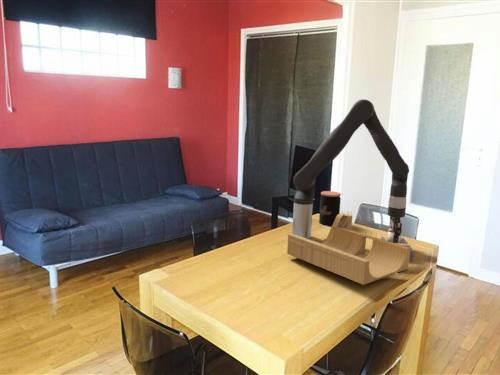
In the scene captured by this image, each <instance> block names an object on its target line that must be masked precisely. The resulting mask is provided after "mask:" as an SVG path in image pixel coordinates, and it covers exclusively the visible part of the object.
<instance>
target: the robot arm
mask: <svg viewBox="0 0 500 375" xmlns="http://www.w3.org/2000/svg"><path fill="white" fill-rule="evenodd" d="M362 125H364V127H365V128H366V129H367V130H368V132H369V133H370V136H371V138H372V140H373V142H374V144H375V146H376V148H377V150H378V151H379V153H380V155H381V156H382V158H383V159H384V160H385V161H386V164H387V166H388V168H389V170H390V172H391V185H390V189H389V190H390V191H389V192H390V193H389V197H388V198H389V199H388V209H387V215H388V217H389V227H392V230H393V231H394V232H393V243H398V240H397V239H399V236H400V235H401V229H402V228H403V227H402V226H403V223H402V220H401V219H402V218H405V217H406V210H407V196H408V195H407V194H408V177H409V173H410V168H409V165H408V164H407V162H406V161H405V160H404V158H403V157H402V155H400V152H399V149H398V148H397V145H396V144H395V143H394V142H393V140H392V138H391V137H390V135H389V134H388V133H387V131H386V130H385V128H384V127H383V125H382V123H381V121H380V119H379V117H378V115H377V112H376V110H375V106H374V104H373V102H371V101H370V100H368V99H359V100H356V102H355V103H353V105H352V106H351V109H349V111H348V113H347V115H346V116H345V117H344V118H343V120H342V121H340V124H338V125H337V126H336V127H335V128H334V129H333V130H332V131H331V132H330V133H329V134H328V135H327V136H326V138H325V139H324V141H323V142H322V143H321V144H320V145H319V146H318V148H317V149H316V151H315V152H314V154H312V157H311V158H310V160H308V162H307V163H306V164H305V165H304V166H303V167H302V168H301V169H300V170H299V171H298V172H296V173H295V175H294V176H293V186H294V187H295V194H294V197H293V209H292V210H293V213H292V215H293V216H292V231H293V233H291V234H295V235H298V236H301V237H304V238H306V236H307V238H306V239H309V240H310V239H312V226H313V220H312V219H313V208H314V207H313V206H314V197H315V191H316V190H315V189H316V178H317V177H318V176H319V174H320V173H321V172H322V171H323V170H324V169H325V168H326V167H327V166H328V165H329V164H330V163H332V162H333V161H334V160H335V159H336V158H337V157H338V156H339V155H340V153H341V152H342V151H343V150H344V149H345V147H346V146H348V143H349V142H350V140H351V138H352V136H353V135H354V134H355V133H356V131H357V130H358V129H359V128H360V127H361V126H362ZM389 227H388V228H389ZM292 231H291V232H292ZM397 231H398V233H396V232H397ZM295 232H296V233H295ZM298 233H299V234H298ZM301 234H302V235H301ZM304 235H305V236H304Z"/></svg>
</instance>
